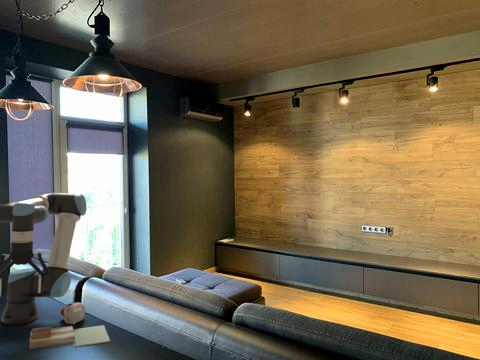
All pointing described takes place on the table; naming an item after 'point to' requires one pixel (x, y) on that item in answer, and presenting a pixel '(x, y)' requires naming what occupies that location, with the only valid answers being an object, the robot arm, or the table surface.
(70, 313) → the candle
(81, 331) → the sage mat
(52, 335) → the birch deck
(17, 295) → the robot arm
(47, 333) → the walnut tile
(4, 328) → the table surface
